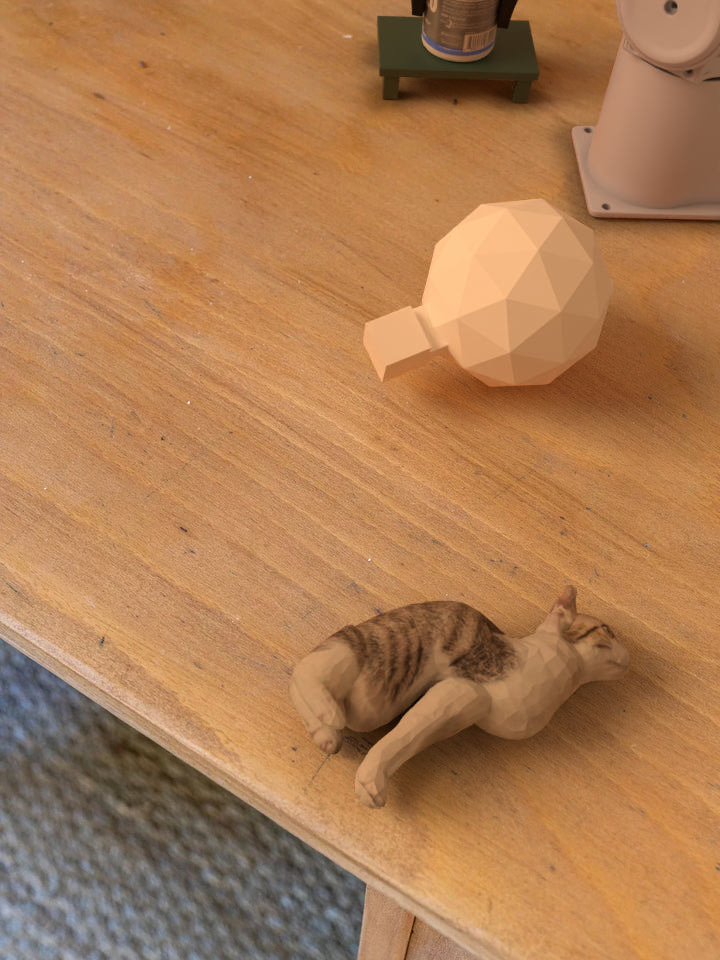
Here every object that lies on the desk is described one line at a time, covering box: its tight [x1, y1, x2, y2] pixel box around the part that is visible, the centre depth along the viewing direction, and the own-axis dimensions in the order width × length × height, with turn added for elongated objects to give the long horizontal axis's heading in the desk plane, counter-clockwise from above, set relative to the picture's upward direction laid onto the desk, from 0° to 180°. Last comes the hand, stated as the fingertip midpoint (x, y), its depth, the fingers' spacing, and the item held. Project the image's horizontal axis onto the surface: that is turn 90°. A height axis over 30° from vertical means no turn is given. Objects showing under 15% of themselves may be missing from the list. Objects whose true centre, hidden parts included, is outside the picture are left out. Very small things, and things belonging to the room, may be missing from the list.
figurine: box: [287, 584, 633, 810], centre depth 36 cm, size 4×16×15 cm
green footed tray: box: [376, 15, 540, 104], centre depth 61 cm, size 10×6×2 cm, turn 91°
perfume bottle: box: [362, 197, 615, 388], centre depth 45 cm, size 9×9×12 cm
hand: (460, 13), depth 58 cm, fingers closed on pill bottle, 5 cm apart
